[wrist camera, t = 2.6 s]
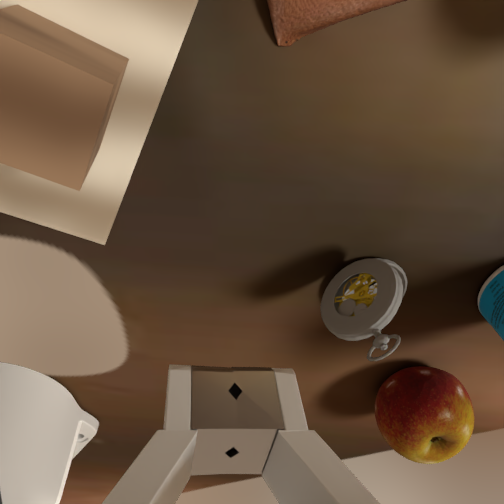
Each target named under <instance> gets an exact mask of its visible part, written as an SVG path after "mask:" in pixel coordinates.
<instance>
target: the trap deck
mask: <svg viewBox="0 0 504 504" xmlns="http://www.w3.org/2000/svg"><path fill="white" fill-rule="evenodd" d="M197 2H198V0H0V9H2V8H6V7H10V6H13V5H17V4H18V5H20V6H22V7H24V8H26V9H28V10H30V11H32V12H34V13H36V14H38V15H40V16H42V17H44V18H46V19H48V20H51V21H53V22H55V23H57V24H59V25H61V26H63V27H65V28H67V29H69V30H71V31H73V32H75V33H77V34H79V35H81V36H83V37H85V38H87V39H89V40H92V41H94V42H96V43H98V44H100V45H102V46H104V47H106V48H108V49H110V50H112V51H114V52H116V53H118V54H120V55H122V56H124V57H126V58H128V59H129V61H128V64H127V67H126V70H125V73H124V76H123V79H122V82H121V85H120V89H119V92H118V95H117V98H116V101H115V104H114V107H113V110H112V113H111V116H110V119H109V122H108V125H107V128H106V131H105V134H104V137H103V140H102V143H101V146H100V149H99V151H98V154H97V156H96V158H95V160H94V162H93V164H92V166H91V168H90V170H89V172H88V175H87V177H86V179H85V181H84V183H83V185H82V187H81V189H80V191H77V190H75V189H72V188H69V187H66V186H63V185H61V184H58V183H55V182H52V181H49V180H47V179H44V178H41V177H38V176H35V175H33V174H30V173H27V172H24V171H21V170H19V169H16V168H13V167H10V166H7V165H4V164H2V163H0V212H2V213H6V214H9V215H12V216H15V217H18V218H21V219H24V220H28V221H31V222H34V223H37V224H40V225H43V226H46V227H50V228H53V229H56V230H59V231H62V232H65V233H68V234H72V235H75V236H78V237H81V238H84V239H87V240H90V241H94V242H97V243H100V244H103V245H105V243H106V240H107V238H108V235H109V232H110V230H111V227H112V225H113V222H114V219H115V217H116V214H117V212H118V209H119V206H120V204H121V201H122V198H123V196H124V193H125V191H126V188H127V185H128V183H129V180H130V178H131V175H132V172H133V170H134V167H135V164H136V162H137V159H138V157H139V154H140V151H141V149H142V146H143V144H144V141H145V138H146V136H147V133H148V130H149V128H150V125H151V123H152V120H153V117H154V115H155V112H156V110H157V107H158V104H159V102H160V99H161V97H162V94H163V91H164V89H165V86H166V83H167V81H168V78H169V76H170V73H171V70H172V68H173V65H174V63H175V60H176V57H177V55H178V52H179V49H180V47H181V44H182V42H183V39H184V36H185V34H186V31H187V29H188V26H189V23H190V21H191V18H192V16H193V13H194V10H195V8H196V5H197Z"/></svg>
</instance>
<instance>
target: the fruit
mask: <svg viewBox="0 0 504 504" xmlns="http://www.w3.org/2000/svg"><path fill="white" fill-rule="evenodd" d="M375 417H376V421H377V425H378V427H379V430H380V432H381V434H382V436H383V437H384V439H385V440H386V441H387V443H388V444H389V445H390V446H391V447H392V448H393V449H394V450H395V451H396V452H397V453H399V454H400V455H402V456H403V457H405V458H407V459H409V460H412V461H414V462H418V463H425V464H432V463H439V462H442V461H444V460H447V459H449V458H451V457H453V456H454V455H456V454H457V453H459V452H460V451H461V450H462V449H463V448H464V446H465V445H466V444H467V442H468V440H469V439H470V437H471V435H472V432H473V428H474V412H473V407H472V402H471V400H470V397H469V395H468V393H467V391H466V390H465V388H464V386H463V385H462V384H461V382H460V381H459V380H458V379H457V378H456V377H454V376H453V375H451V374H450V373H448V372H446V371H443V370H440V369H437V368H432V367H419V366H418V367H409V368H405V369H402V370H400V371H398V372H396V373H394V374H393V375H391V376H390V377H389V378H388V379H387V380H386V381H385V382H383V383H382V385H381V387H380V389H379V390H378V394H377V397H376V400H375Z"/></svg>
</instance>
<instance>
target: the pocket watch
mask: <svg viewBox="0 0 504 504" xmlns="http://www.w3.org/2000/svg"><path fill="white" fill-rule="evenodd" d="M406 290H407V278H406V275H405V273H404V271H403V270H402V268H401V267H399V265H397V264H396V263H394V262H392V261H390V260H387V259H380V258H373V259H363V260H359V261H356V262H354V263H352V264H350V265H348V266H346V267H345V268H343V269H342V270H341V271H340V272H339V273H337V274H336V275H335V277H334V278H333V279H332V280H331V281H330V283H329V284H328V286H327V288H326V290H325V292H324V294H323V297H322V302H321V316H322V320H323V322H324V323H325V326H326V327H327V328H328V329H329V331H330V332H331V333H333V334H334V335H335V336H337V337H338V338H340V339H344V340H347V341H358V340H362V339H365V338H368V337H370V336H372V335H374V336H375V339H374V341H373V346H372V347H371V348H370V350H369V352H368V354H367V359H368V360H369V361H378V360H381V359H383V358H385V357H386V356H388V355H390V354H391V353H392V352H393V351H395V349H396V348H397V347H398V345H399V344H400V341H401V338H400V336H399V335H396V334H394V335H387V334H381V331H380V330H381V329H383V328H384V327H385V326H386V325H387V324H389V322H390V321H391V320H392V318H393V317H394V316H395V314H396V312H397V310H398V308H399V306H400V304H401V302H402V298H403V296H404V295H405V292H406ZM390 338H396V339H397V341H396V343H395V345H394V346H393V348H392V349H391V350H389V351H388V352H387V353H385V354H384V355H382V356H380V357H374V358H373V357H371V354H372V352H373V350H374V349H375V348H380V349H381V350H386V349H387V348H388V345H387V343H388V342H389V339H390Z"/></svg>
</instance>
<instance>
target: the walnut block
mask: <svg viewBox="0 0 504 504" xmlns="http://www.w3.org/2000/svg"><path fill="white" fill-rule="evenodd" d="M128 61H129V59H128V58H126V57H124V56H122V55H120V54H118V53H116V52H114V51H112V50H110V49H108V48H106V47H104V46H102V45H100V44H98V43H96V42H94V41H92V40H89V39H87V38H85V37H83V36H81V35H79V34H77V33H75V32H73V31H71V30H69V29H67V28H65V27H63V26H61V25H59V24H57V23H55V22H53V21H51V20H48V19H46V18H44V17H42V16H40V15H38V14H36V13H34V12H32V11H30V10H28V9H26V8H24V7H22V6H20V5H18V4H17V5H13V6H10V7H6V8H2V9H0V163H2V164H4V165H7V166H10V167H13V168H16V169H19V170H21V171H24V172H27V173H30V174H33V175H35V176H38V177H41V178H44V179H47V180H49V181H52V182H55V183H58V184H61V185H63V186H66V187H69V188H72V189H75V190H77V191H80V189H81V187H82V185H83V183H84V181H85V179H86V177H87V175H88V172H89V170H90V168H91V166H92V164H93V162H94V160H95V158H96V156H97V154H98V151H99V149H100V146H101V143H102V140H103V137H104V134H105V131H106V128H107V125H108V122H109V119H110V116H111V113H112V110H113V107H114V104H115V101H116V98H117V95H118V92H119V89H120V85H121V82H122V79H123V76H124V73H125V70H126V67H127V64H128Z"/></svg>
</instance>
